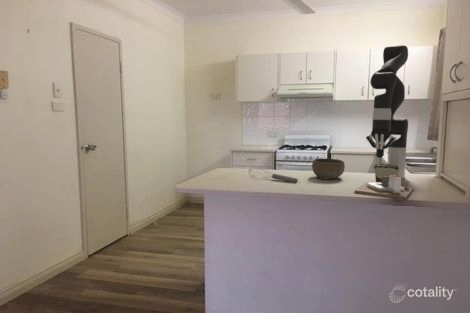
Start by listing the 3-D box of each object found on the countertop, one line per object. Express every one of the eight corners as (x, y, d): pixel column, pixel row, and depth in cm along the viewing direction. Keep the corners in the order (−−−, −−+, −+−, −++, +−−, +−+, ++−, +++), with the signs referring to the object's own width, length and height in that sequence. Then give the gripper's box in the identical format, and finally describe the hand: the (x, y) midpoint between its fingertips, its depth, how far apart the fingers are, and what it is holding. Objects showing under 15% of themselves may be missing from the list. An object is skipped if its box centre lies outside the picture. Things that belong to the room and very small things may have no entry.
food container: (399, 183, 187) (400, 164, 186) (398, 185, 182) (399, 166, 181) (374, 181, 193) (375, 162, 192) (372, 183, 188) (373, 164, 187)
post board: (366, 184, 184) (366, 171, 184) (413, 189, 172) (414, 175, 172) (354, 192, 166) (355, 178, 165) (406, 199, 154) (407, 183, 153)
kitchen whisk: (297, 184, 186) (297, 172, 185) (245, 177, 207) (245, 166, 206) (303, 183, 190) (303, 171, 190) (252, 176, 212) (252, 165, 211)
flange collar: (366, 186, 174) (367, 170, 173) (389, 185, 176) (390, 169, 175) (384, 193, 158) (385, 176, 157) (409, 193, 160) (410, 175, 159)
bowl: (347, 180, 195) (348, 162, 194) (315, 180, 195) (315, 162, 194) (339, 174, 212) (340, 158, 211) (309, 174, 212) (309, 158, 211)
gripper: (400, 118, 157) (397, 158, 159) (370, 118, 166) (368, 155, 168) (394, 119, 152) (392, 159, 154) (363, 118, 160) (362, 157, 162)
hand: (379, 157), depth 161 cm, fingers closed
